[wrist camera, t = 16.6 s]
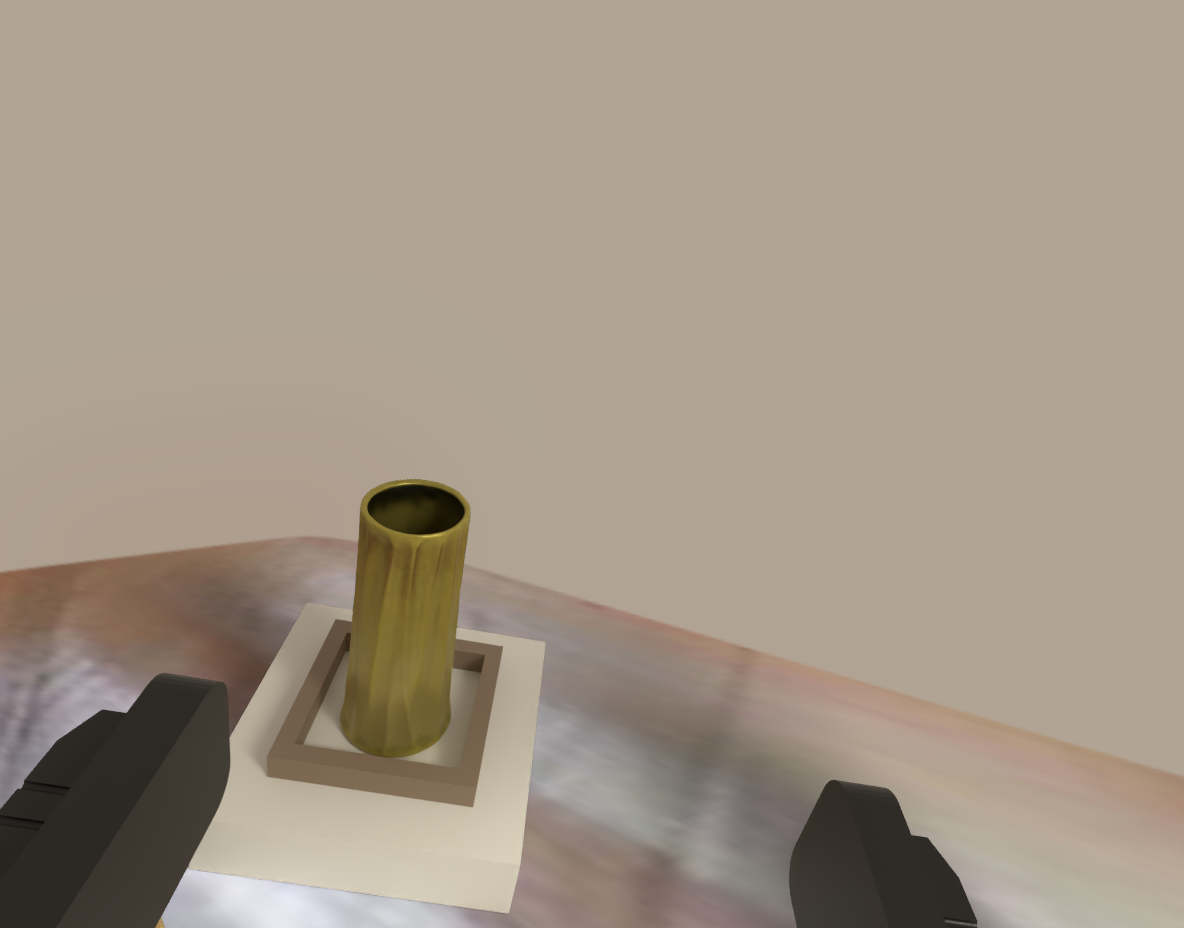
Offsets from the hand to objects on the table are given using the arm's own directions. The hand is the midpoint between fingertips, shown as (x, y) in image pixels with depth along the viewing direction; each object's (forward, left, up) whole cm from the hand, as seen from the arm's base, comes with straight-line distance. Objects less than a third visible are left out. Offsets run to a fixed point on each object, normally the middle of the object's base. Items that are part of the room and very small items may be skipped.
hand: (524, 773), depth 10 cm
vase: (+6, -24, -26) cm, 36 cm away
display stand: (+6, -24, -30) cm, 39 cm away
